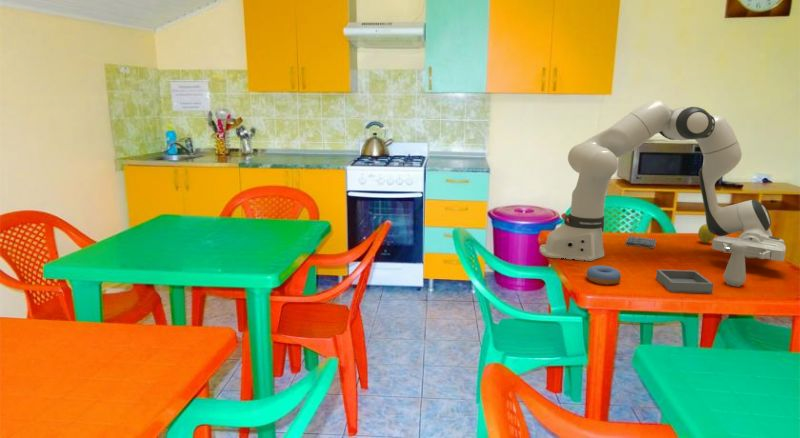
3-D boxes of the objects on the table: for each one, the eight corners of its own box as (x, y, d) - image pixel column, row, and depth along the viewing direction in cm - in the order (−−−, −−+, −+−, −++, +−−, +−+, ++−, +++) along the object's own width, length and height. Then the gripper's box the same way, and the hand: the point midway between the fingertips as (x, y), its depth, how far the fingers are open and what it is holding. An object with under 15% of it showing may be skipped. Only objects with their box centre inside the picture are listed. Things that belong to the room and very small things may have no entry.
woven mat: (656, 243, 209) (657, 238, 208) (653, 250, 200) (654, 245, 199) (628, 240, 214) (628, 235, 213) (623, 246, 205) (624, 241, 205)
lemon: (713, 246, 204) (716, 225, 202) (696, 244, 207) (699, 223, 205) (713, 242, 208) (716, 222, 207) (697, 240, 211) (700, 220, 209)
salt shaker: (747, 288, 161) (754, 246, 158) (726, 286, 162) (733, 245, 159) (739, 281, 166) (746, 241, 163) (719, 280, 167) (725, 240, 164)
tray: (670, 292, 157) (671, 282, 157) (655, 278, 169) (656, 269, 168) (712, 293, 156) (713, 283, 156) (694, 279, 168) (695, 270, 167)
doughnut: (602, 272, 174) (603, 259, 172) (627, 283, 165) (628, 270, 164) (579, 280, 170) (579, 266, 168) (603, 292, 161) (604, 278, 160)
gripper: (717, 229, 186) (708, 237, 176) (789, 240, 173) (783, 249, 163) (715, 247, 188) (705, 256, 178) (786, 259, 175) (780, 269, 164)
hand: (743, 253), depth 170 cm, fingers open, 8 cm apart
